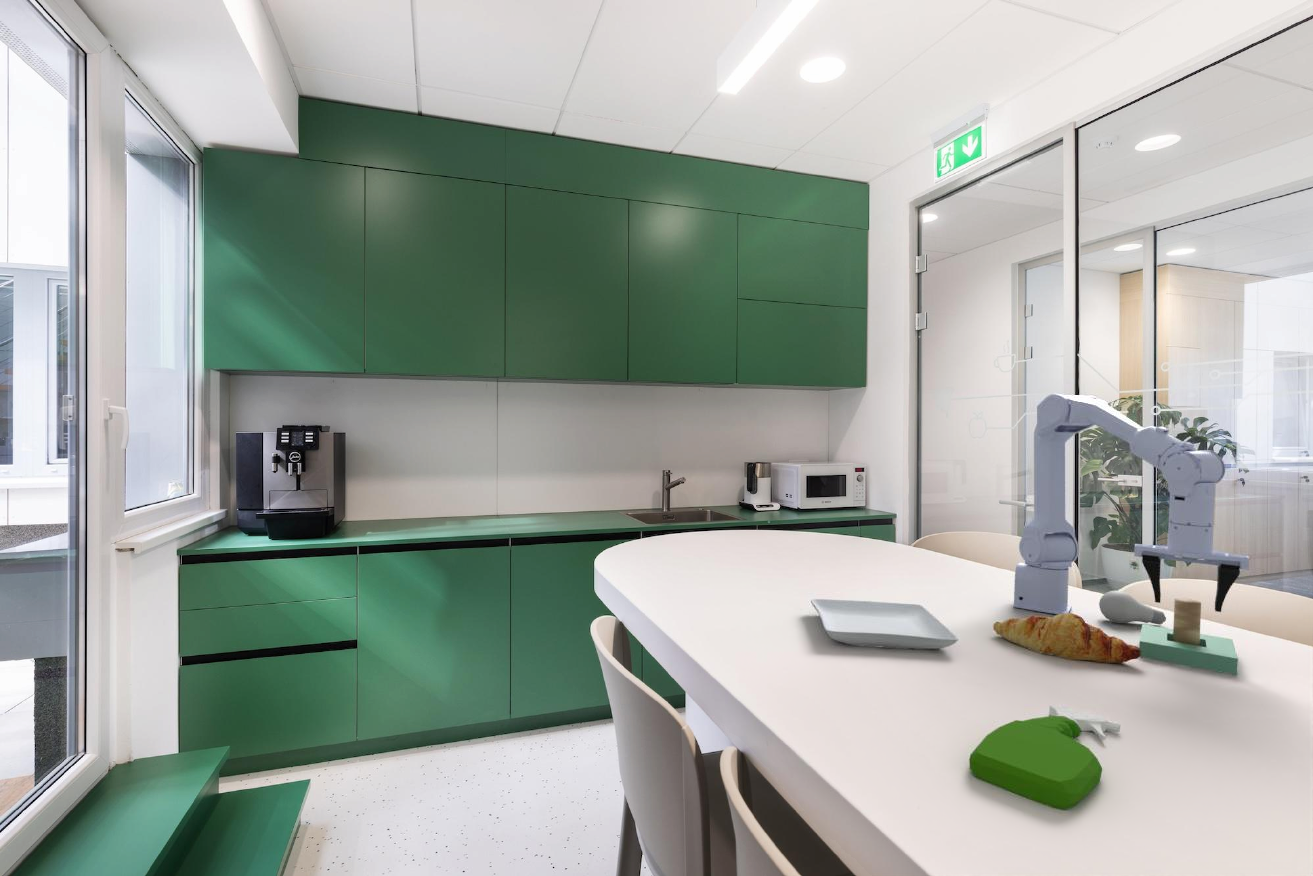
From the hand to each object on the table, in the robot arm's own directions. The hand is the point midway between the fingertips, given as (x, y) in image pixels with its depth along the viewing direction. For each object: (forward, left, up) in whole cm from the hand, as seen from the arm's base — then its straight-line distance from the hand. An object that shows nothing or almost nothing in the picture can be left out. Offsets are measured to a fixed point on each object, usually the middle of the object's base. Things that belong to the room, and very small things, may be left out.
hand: (1187, 605), depth 107 cm
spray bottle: (-12, -53, -9) cm, 55 cm away
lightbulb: (-3, +18, -7) cm, 19 cm away
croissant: (-16, -11, -9) cm, 21 cm away
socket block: (0, 0, -8) cm, 8 cm away
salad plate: (-43, -23, -9) cm, 50 cm away
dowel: (0, 0, -8) cm, 8 cm away
